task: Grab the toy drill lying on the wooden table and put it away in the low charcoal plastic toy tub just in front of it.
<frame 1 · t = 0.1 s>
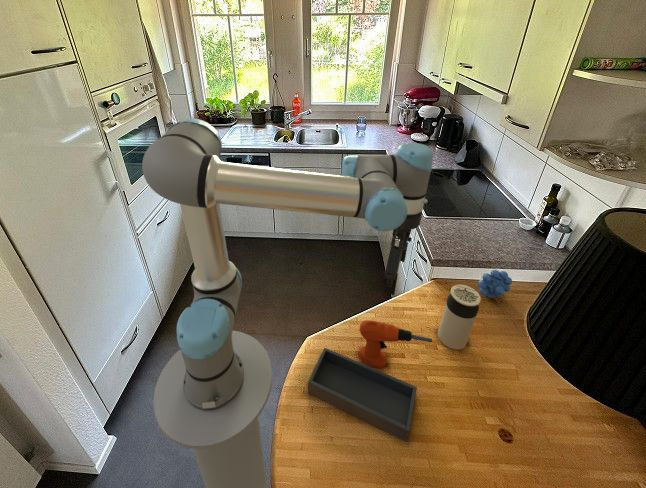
hand: (394, 275, 87), 23 cm above the countertop, tool pointing down, fingers open, 13 cm apart
toy tub: (360, 395, 82), on the countertop
grapes: (491, 299, 109), on the countertop
toy drill: (388, 363, 89), on the countertop
travel mug: (451, 338, 96), on the countertop
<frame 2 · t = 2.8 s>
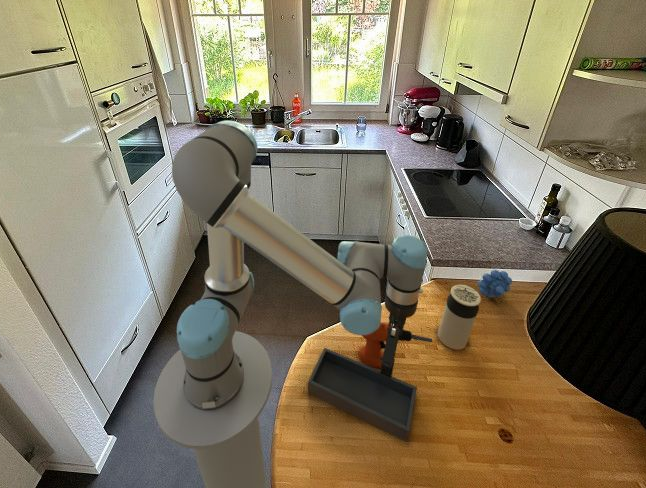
hand: (392, 352, 87), 5 cm above the countertop, tool pointing down, fingers open, 13 cm apart
nothing on the countertop moved.
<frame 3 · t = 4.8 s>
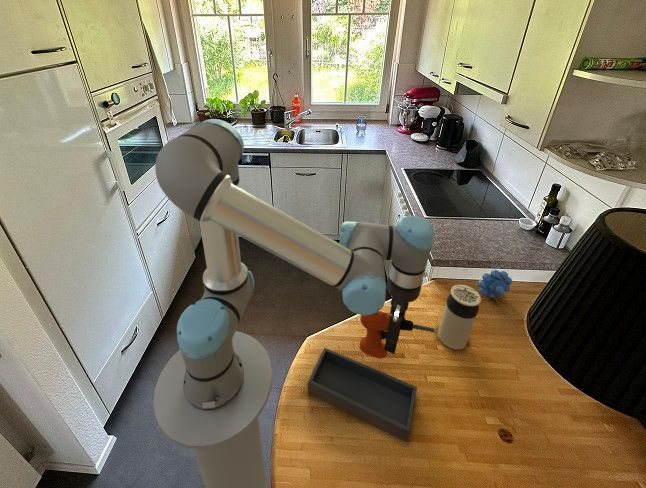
hand: (391, 344, 85), 8 cm above the countertop, tool pointing down, fingers closed on toy drill, 3 cm apart
toy drill: (389, 354, 88), point 3 cm above the countertop, touching gripper
everything else where it was.
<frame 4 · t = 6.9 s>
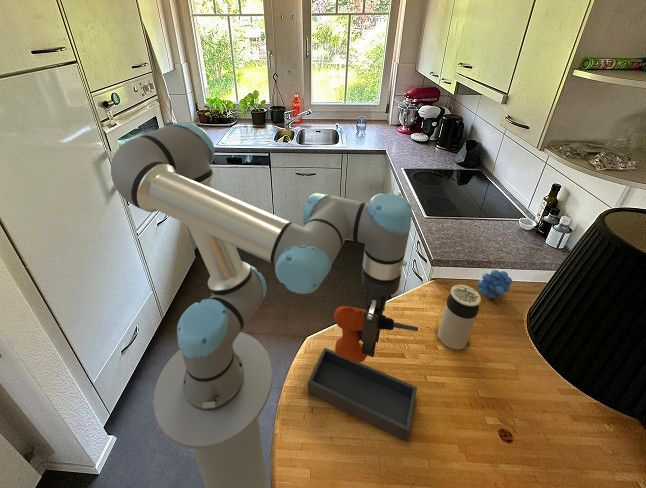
hand: (370, 346, 74), 18 cm above the countertop, tool pointing down, fingers closed on toy drill, 3 cm apart
toy drill: (369, 357, 76), point 13 cm above the countertop, touching gripper
everything else where it was.
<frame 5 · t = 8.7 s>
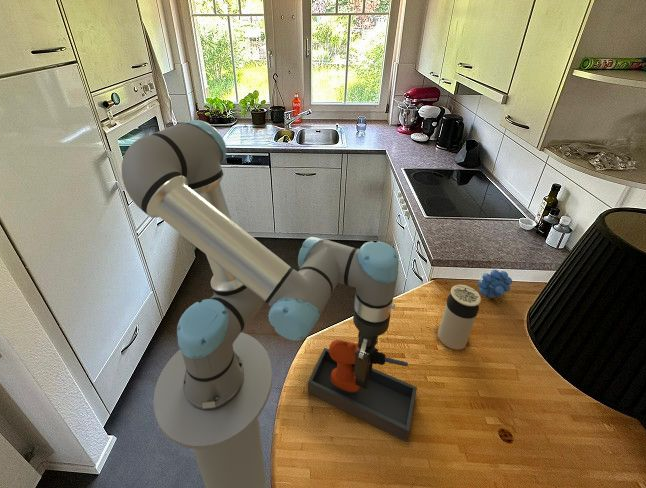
hand: (363, 377, 78), 8 cm above the countertop, tool pointing down, fingers closed on toy drill, 3 cm apart
toy drill: (363, 387, 80), point 3 cm above the countertop, touching gripper
everything else where it was.
when the fingers open (5 cm above the countertop, at t = 9.4 s): toy drill stays where it is, resting on toy tub.
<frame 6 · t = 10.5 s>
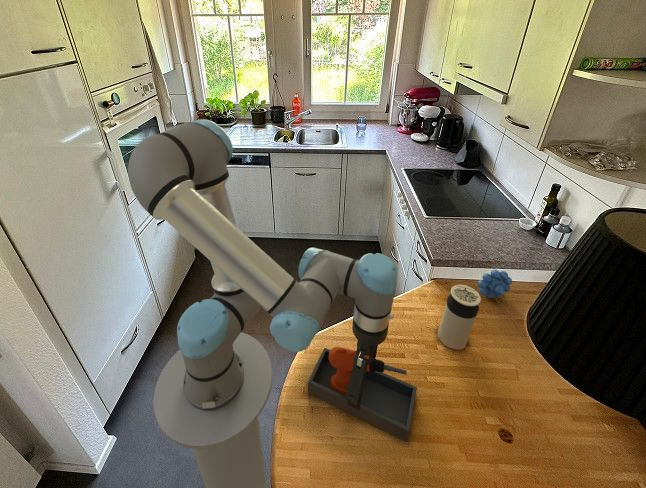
hand: (362, 379, 78), 7 cm above the countertop, tool pointing down, fingers open, 13 cm apart
toy drill: (361, 393, 82), resting on toy tub
everything else where it was.
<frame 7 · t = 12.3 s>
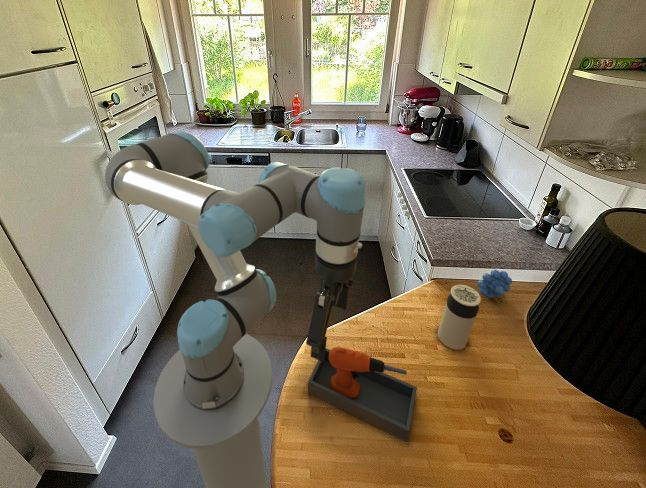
hand: (330, 330, 68), 26 cm above the countertop, tool pointing down, fingers open, 13 cm apart
nothing on the countertop moved.
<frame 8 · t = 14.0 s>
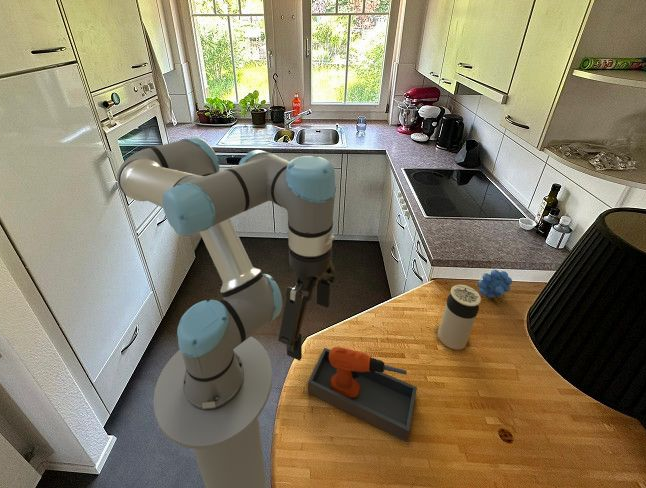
hand: (309, 328, 66), 29 cm above the countertop, tool pointing down, fingers open, 13 cm apart
nothing on the countertop moved.
at the end: toy drill inside the target area in the toy tub (0.3 cm from its centre), point 0.4 cm above the toy tub's base; the gripper is holding nothing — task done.
